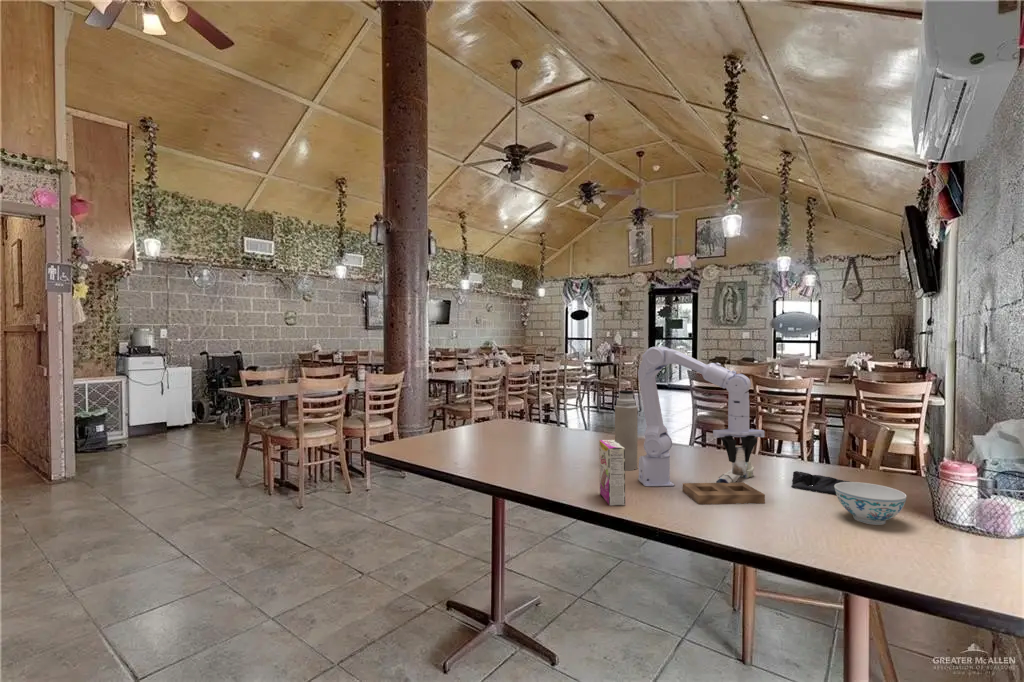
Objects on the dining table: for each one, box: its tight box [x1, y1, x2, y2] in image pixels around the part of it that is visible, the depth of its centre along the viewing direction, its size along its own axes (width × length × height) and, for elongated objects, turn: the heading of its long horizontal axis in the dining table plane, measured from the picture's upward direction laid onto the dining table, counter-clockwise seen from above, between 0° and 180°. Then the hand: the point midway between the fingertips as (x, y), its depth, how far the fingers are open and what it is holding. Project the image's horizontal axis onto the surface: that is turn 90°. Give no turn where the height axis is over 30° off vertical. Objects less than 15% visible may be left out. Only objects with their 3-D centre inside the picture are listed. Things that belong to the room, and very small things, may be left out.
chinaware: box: [834, 481, 907, 526], centre depth 128 cm, size 15×15×8 cm
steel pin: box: [731, 444, 746, 475], centre depth 147 cm, size 4×4×8 cm
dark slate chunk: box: [791, 470, 851, 495], centre depth 154 cm, size 15×22×5 cm
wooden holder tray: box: [681, 481, 766, 505], centre depth 146 cm, size 19×12×2 cm, turn 92°
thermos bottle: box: [614, 389, 638, 471], centre depth 181 cm, size 8×8×28 cm
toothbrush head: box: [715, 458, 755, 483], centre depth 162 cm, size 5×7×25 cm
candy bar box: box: [598, 439, 626, 507], centre depth 144 cm, size 11×5×16 cm, turn 4°
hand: (738, 461), depth 147 cm, fingers closed on steel pin, 4 cm apart
